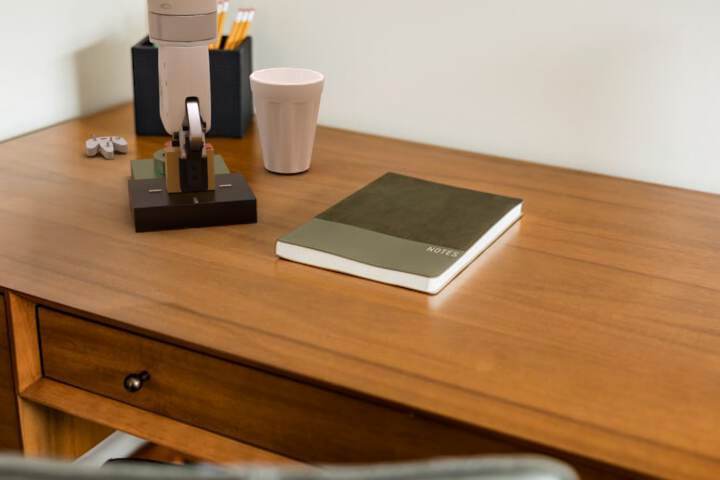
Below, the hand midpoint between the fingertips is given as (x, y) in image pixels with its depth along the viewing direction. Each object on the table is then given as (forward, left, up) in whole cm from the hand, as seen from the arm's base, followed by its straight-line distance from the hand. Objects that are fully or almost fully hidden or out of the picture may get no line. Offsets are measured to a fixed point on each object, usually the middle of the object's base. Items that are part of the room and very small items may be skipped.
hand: (190, 179), depth 107 cm
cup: (+15, +14, -4) cm, 21 cm away
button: (0, +11, -1) cm, 11 cm away
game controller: (-9, +29, -4) cm, 31 cm away
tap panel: (0, 0, -4) cm, 4 cm away
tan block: (0, 0, -1) cm, 1 cm away
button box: (0, +11, -4) cm, 12 cm away
